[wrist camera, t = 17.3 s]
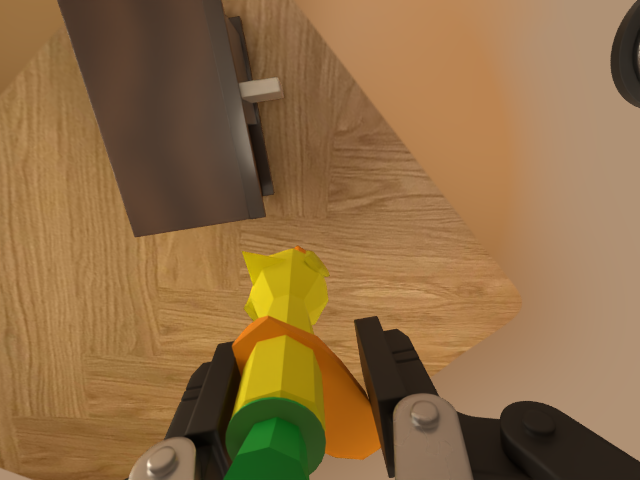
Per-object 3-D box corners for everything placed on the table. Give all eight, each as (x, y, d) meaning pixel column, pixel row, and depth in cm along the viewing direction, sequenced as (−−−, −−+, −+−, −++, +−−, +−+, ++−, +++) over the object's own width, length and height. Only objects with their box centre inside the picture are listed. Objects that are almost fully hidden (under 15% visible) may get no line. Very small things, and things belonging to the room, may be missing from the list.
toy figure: (370, 294, 19) (472, 558, 7) (318, 334, 19) (337, 636, 8) (283, 197, 17) (240, 348, 6) (228, 244, 18) (90, 466, 6)
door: (273, 29, 32) (263, -3, 24) (288, 119, 34) (284, 117, 26) (232, 35, 32) (209, 5, 24) (250, 125, 34) (235, 125, 26)
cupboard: (240, 18, 32) (215, -28, 23) (274, 193, 37) (265, 217, 28) (128, 36, 32) (54, -2, 23) (177, 208, 37) (133, 238, 28)
